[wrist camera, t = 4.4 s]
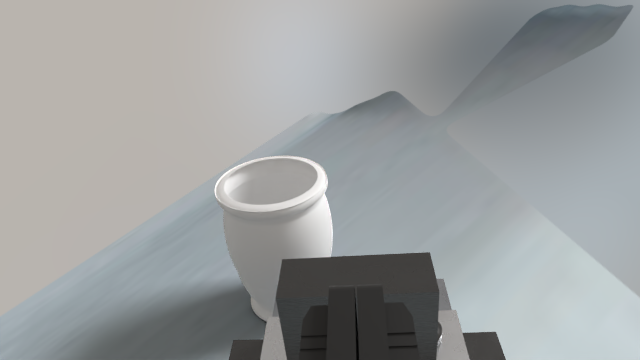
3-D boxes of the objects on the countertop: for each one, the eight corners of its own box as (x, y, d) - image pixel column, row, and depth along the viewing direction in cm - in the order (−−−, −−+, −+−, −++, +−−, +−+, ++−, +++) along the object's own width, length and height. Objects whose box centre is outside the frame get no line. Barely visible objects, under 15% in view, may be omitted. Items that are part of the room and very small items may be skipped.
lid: (234, 534, 25) (185, 399, 19) (269, 326, 37) (245, 206, 31) (513, 534, 24) (545, 391, 18) (455, 319, 36) (464, 194, 30)
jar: (237, 339, 48) (205, 216, 41) (246, 271, 57) (221, 159, 50) (342, 329, 48) (331, 203, 41) (335, 262, 57) (324, 149, 50)
